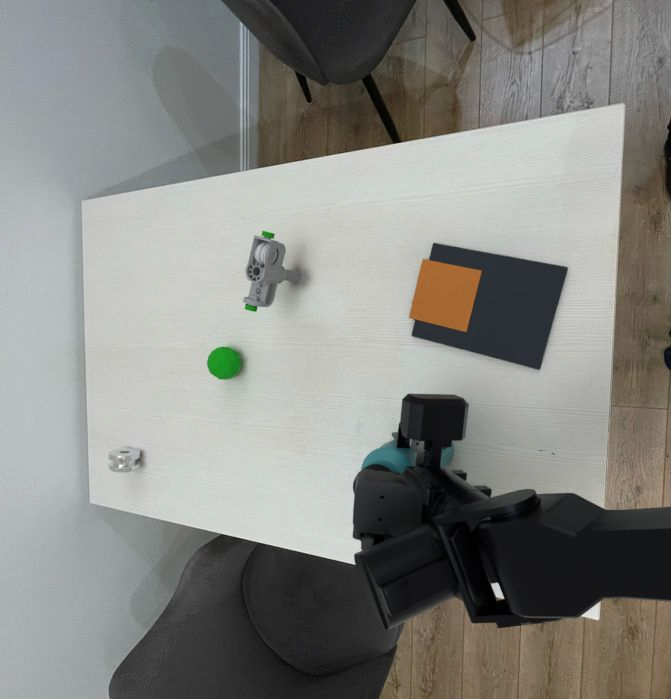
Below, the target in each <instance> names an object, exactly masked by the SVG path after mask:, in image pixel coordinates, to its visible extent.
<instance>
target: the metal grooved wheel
mask: <svg viewBox="0 0 671 699" xmlns="http://www.w3.org/2000/svg"><path fill="white" fill-rule="evenodd" d="M140 458H141V450H140V449H138V448H134V447H122V448H116V449H111V450H110V451H109V452H108V460H109V461H110V462H108V469H109V471H111V472H114V473H120V474H121V473H130V472H134V471H137V470H138V469H139V468H140V467H141V461H140V460H138V459H140Z"/></svg>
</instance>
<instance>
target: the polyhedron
mask: <svg viewBox="0 0 671 699" xmlns="http://www.w3.org/2000/svg"><path fill="white" fill-rule="evenodd" d="M206 365H207V369H208V372H209V373H210V375H212V376H213V377H215V378H217V379H218V380H232V379H233V378H234V377H235V376H236V375H237V376H238V373H239V372H240V371H241V367H242V359H241V356H240V354H239V352H238V351H236V350H235V349H233V348H232V347H230V346H219V347H216V348H215V349H213V350H212V351H211V352H210V353H209V355H208V356H207V360H206Z"/></svg>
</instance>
